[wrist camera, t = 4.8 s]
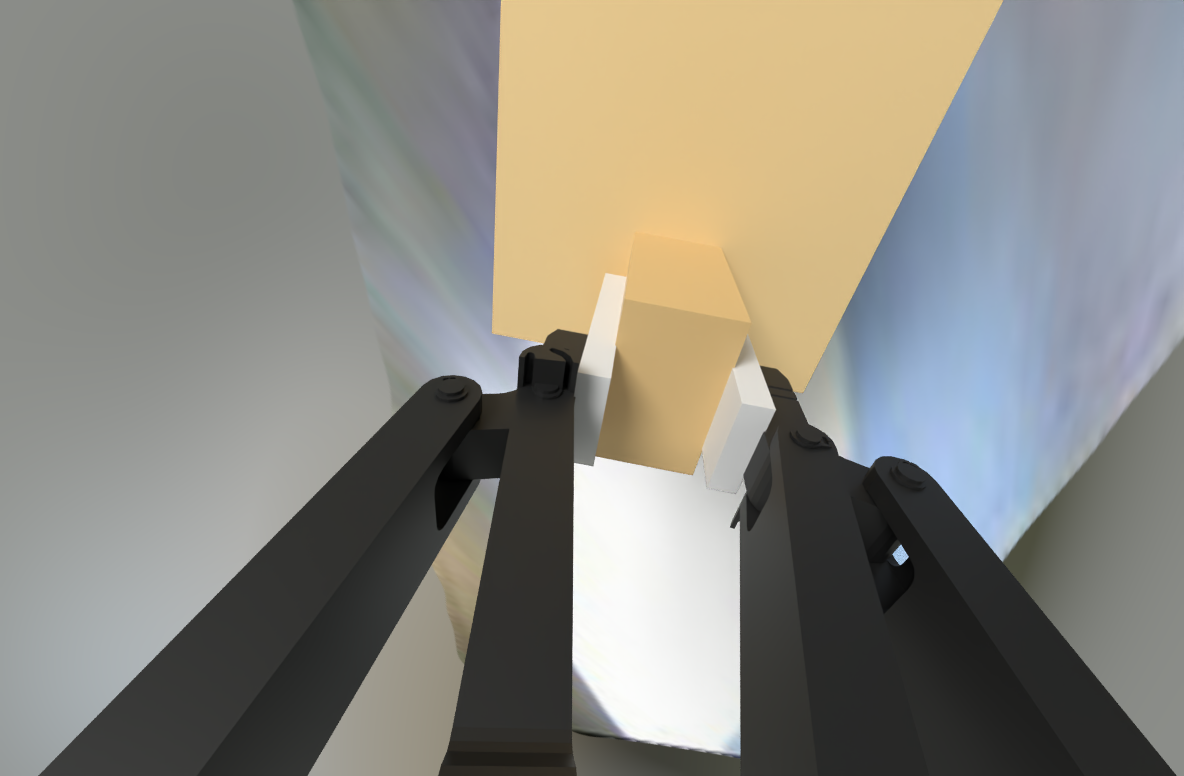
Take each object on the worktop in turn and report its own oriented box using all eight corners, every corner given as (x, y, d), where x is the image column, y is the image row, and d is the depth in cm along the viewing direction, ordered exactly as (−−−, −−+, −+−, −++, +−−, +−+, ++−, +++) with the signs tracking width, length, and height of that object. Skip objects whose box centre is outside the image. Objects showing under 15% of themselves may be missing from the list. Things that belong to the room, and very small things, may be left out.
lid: (540, -512, 9) (271, -1892, 3) (1163, -412, 9) (2420, -1654, 3) (504, 315, 20) (430, 424, 13) (791, 370, 20) (857, 507, 13)
